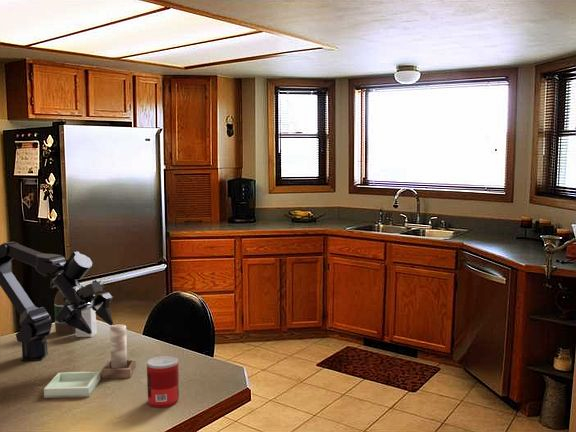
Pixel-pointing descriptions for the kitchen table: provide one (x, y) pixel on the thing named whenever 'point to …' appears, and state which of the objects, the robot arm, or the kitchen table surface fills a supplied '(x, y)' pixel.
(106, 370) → the brown square open box
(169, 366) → the canned food
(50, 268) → the robot arm
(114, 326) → the peg
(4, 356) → the kitchen table surface
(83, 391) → the tray
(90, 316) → the skincare box
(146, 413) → the kitchen table surface
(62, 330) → the beer bottle
